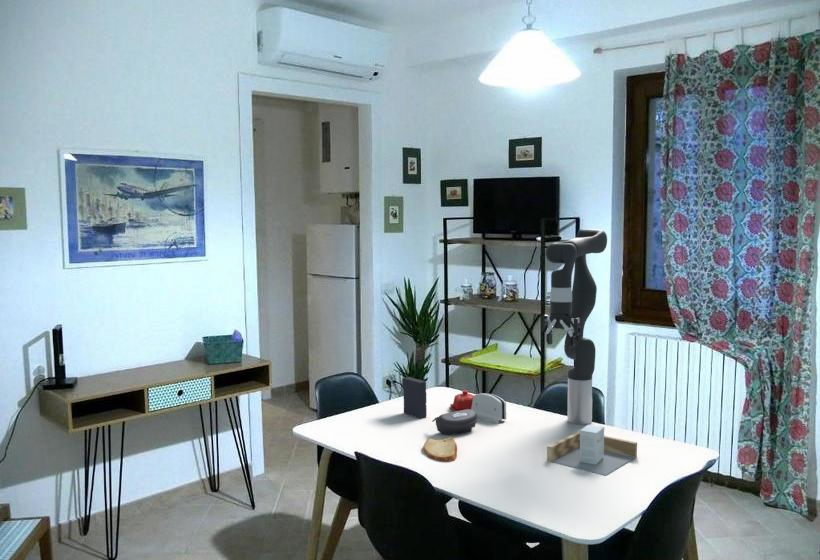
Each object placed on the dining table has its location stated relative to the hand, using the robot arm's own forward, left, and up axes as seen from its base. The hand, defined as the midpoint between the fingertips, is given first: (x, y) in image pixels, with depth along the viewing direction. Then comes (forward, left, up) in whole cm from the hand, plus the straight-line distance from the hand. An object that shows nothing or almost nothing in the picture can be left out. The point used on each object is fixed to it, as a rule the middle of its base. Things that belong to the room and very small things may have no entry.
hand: (560, 345), depth 243 cm
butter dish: (-11, -50, -35) cm, 62 cm away
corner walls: (+12, +19, -34) cm, 41 cm away
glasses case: (+16, -34, -34) cm, 51 cm away
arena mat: (+12, +19, -34) cm, 41 cm away
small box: (+13, +19, -34) cm, 41 cm away
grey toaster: (-6, -36, -35) cm, 50 cm away
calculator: (+10, -60, -34) cm, 70 cm away
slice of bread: (+37, -24, -35) cm, 56 cm away
